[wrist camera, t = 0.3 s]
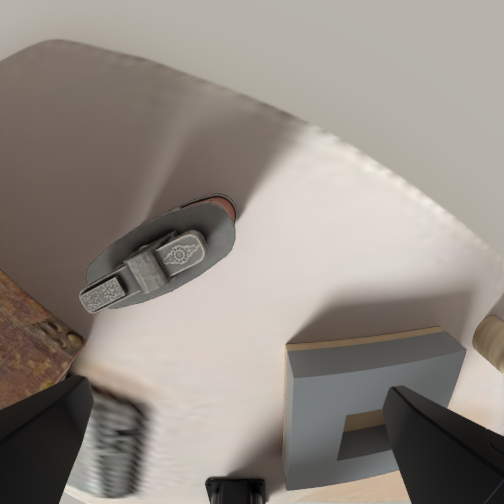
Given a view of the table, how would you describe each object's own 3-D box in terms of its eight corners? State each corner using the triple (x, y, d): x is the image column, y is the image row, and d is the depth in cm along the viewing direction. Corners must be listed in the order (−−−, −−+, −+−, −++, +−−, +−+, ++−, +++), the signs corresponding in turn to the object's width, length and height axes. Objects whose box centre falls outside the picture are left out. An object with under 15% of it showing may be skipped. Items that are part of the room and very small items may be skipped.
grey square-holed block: (407, 435, 27) (422, 462, 23) (281, 457, 27) (286, 490, 23) (439, 326, 24) (466, 349, 20) (285, 344, 24) (293, 378, 19)
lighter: (224, 182, 21) (208, 189, 11) (246, 227, 22) (250, 272, 12) (123, 235, 21) (48, 280, 12) (146, 276, 22) (88, 345, 12)
